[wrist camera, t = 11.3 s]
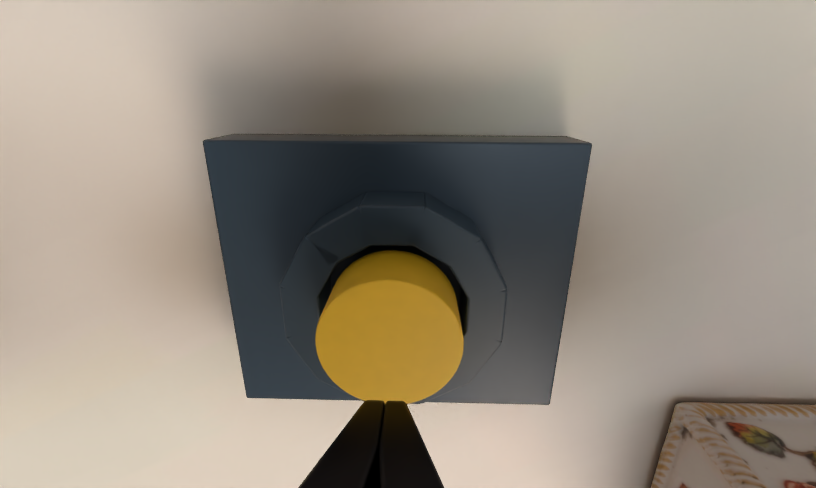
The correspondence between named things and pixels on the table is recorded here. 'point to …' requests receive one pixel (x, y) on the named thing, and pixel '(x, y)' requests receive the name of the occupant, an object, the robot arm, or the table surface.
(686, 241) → the table surface
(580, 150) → the blue button base
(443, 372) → the button
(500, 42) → the table surface
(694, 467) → the decorative jar
